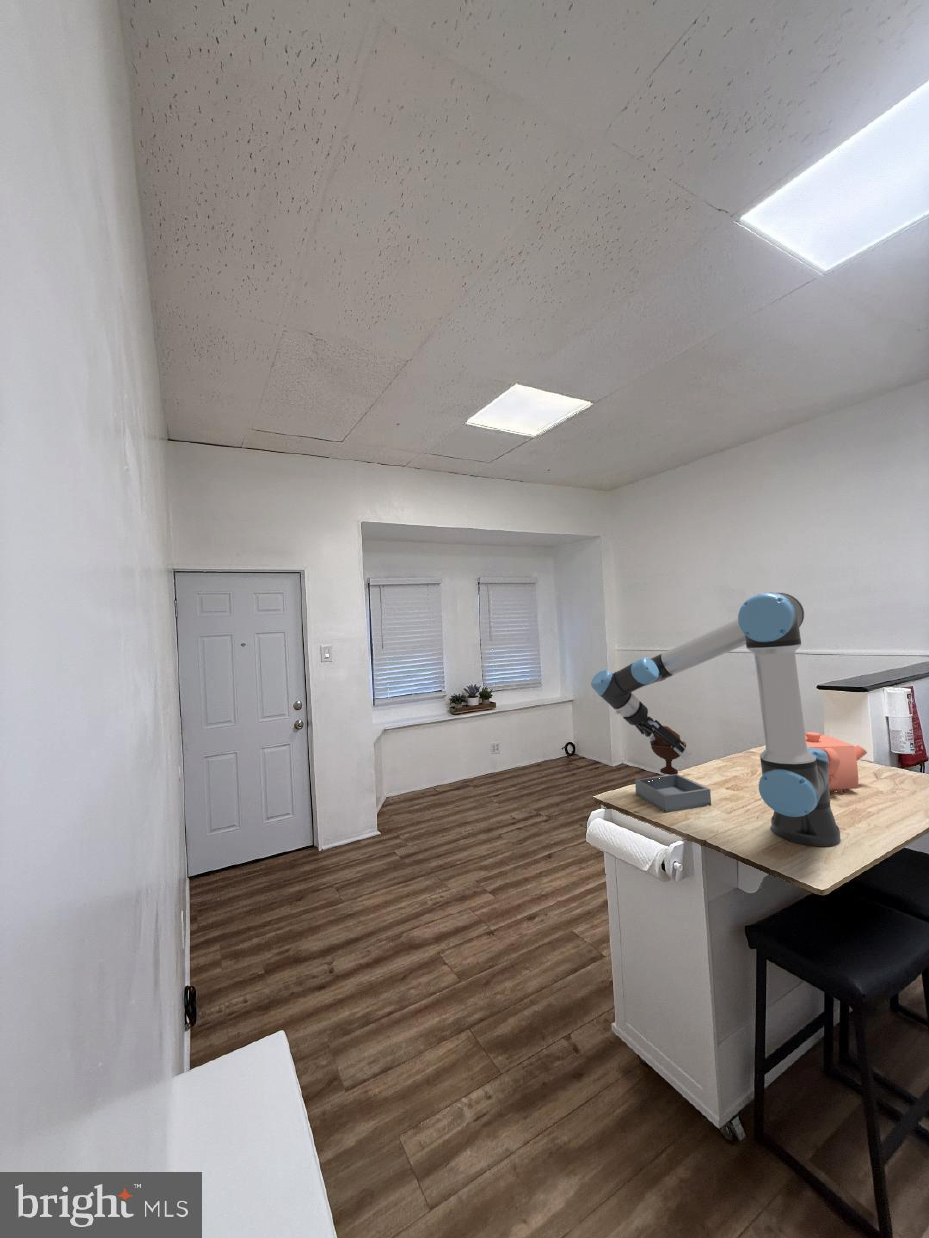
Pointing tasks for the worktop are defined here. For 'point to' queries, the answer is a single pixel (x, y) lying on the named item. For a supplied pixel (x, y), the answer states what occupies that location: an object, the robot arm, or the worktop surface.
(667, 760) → the ice cream bowl
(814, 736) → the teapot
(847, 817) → the worktop surface
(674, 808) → the tray
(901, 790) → the worktop surface
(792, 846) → the worktop surface
